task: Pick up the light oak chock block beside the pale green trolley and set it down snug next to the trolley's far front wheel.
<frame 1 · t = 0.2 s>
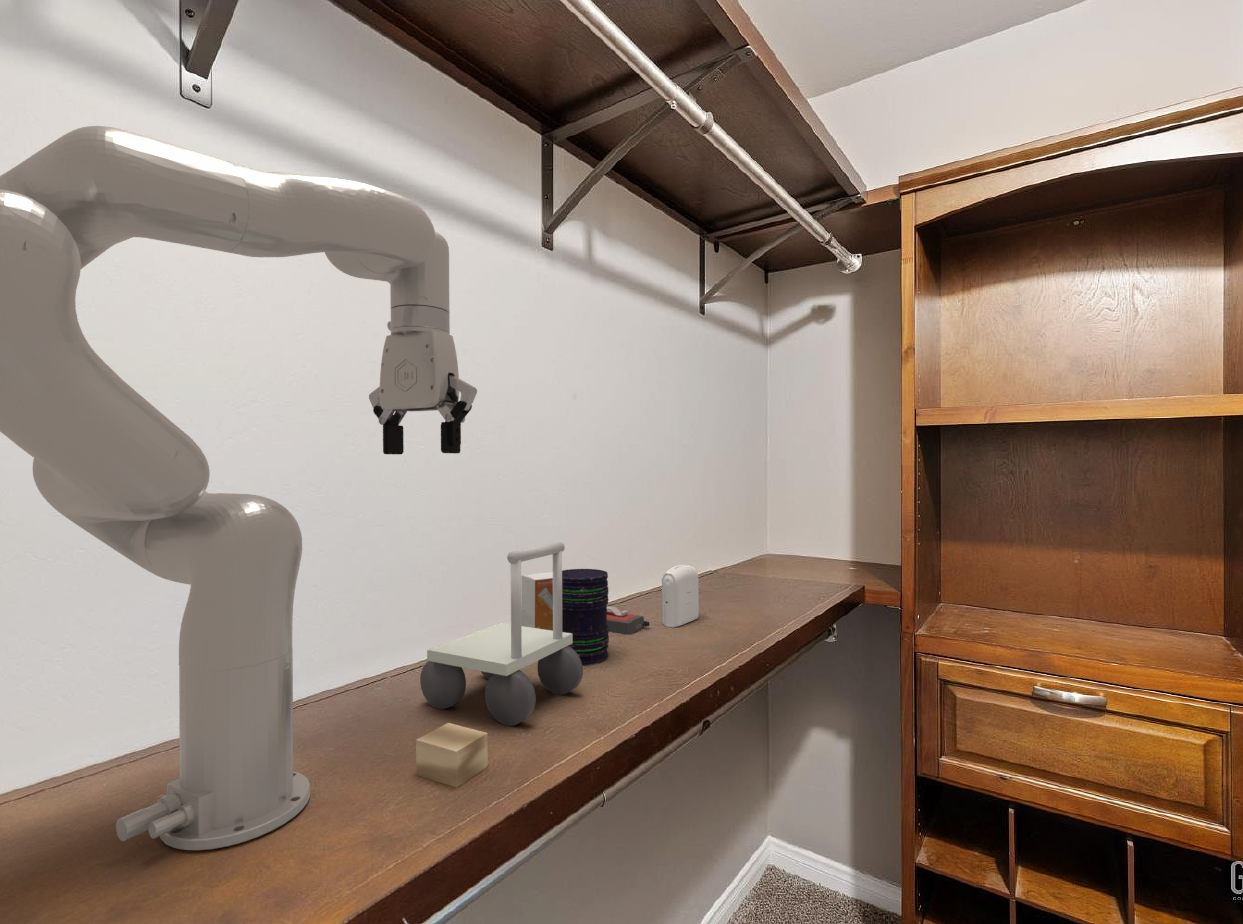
hand: (421, 453, 81), 36 cm above the closet shelf, tool pointing down, fingers open, 9 cm apart
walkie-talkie: (604, 627, 130), on the closet shelf
photo printer: (680, 623, 132), on the closet shelf
chock: (452, 771, 68), on the closet shelf
small box: (546, 642, 118), on the closet shelf
trolley: (503, 699, 89), on the closet shelf
dark blue cylinder: (581, 658, 108), on the closet shelf
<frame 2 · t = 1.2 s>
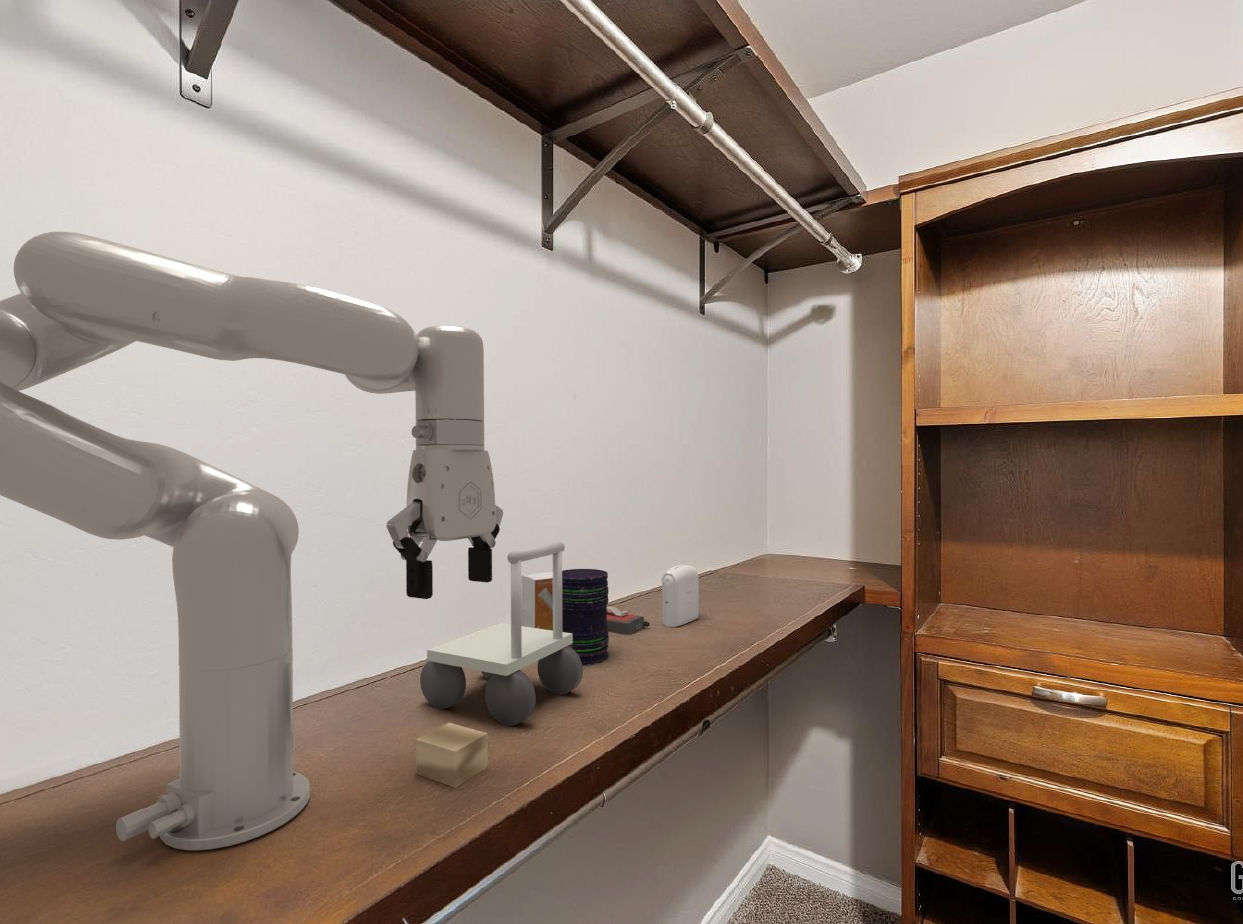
hand: (451, 588, 69), 20 cm above the closet shelf, tool pointing down, fingers open, 9 cm apart
nothing on the closet shelf moved.
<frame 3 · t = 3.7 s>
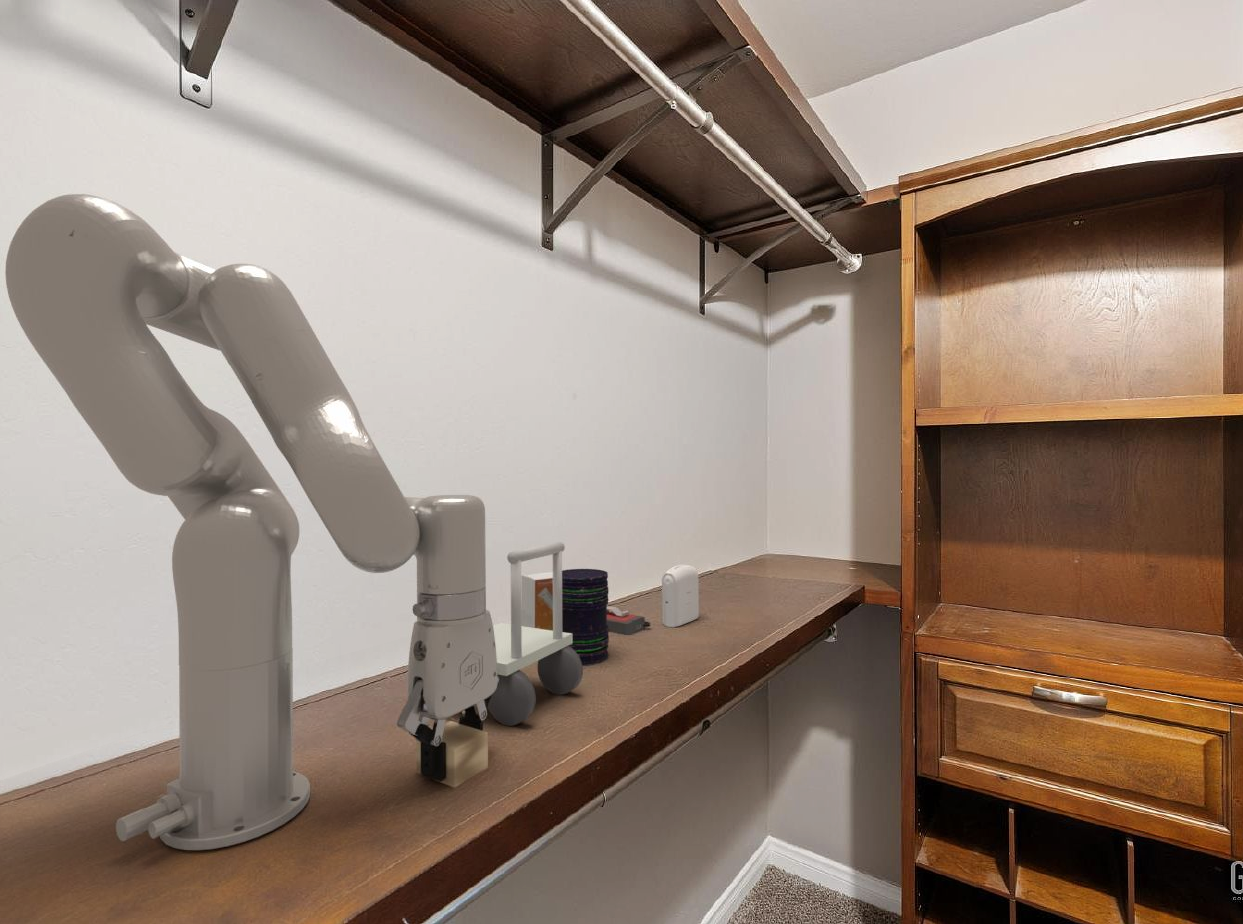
hand: (452, 763, 68), 1 cm above the closet shelf, tool pointing down, fingers closed on chock, 5 cm apart
chock: (452, 770, 68), on the closet shelf, touching gripper
everything else where it was.
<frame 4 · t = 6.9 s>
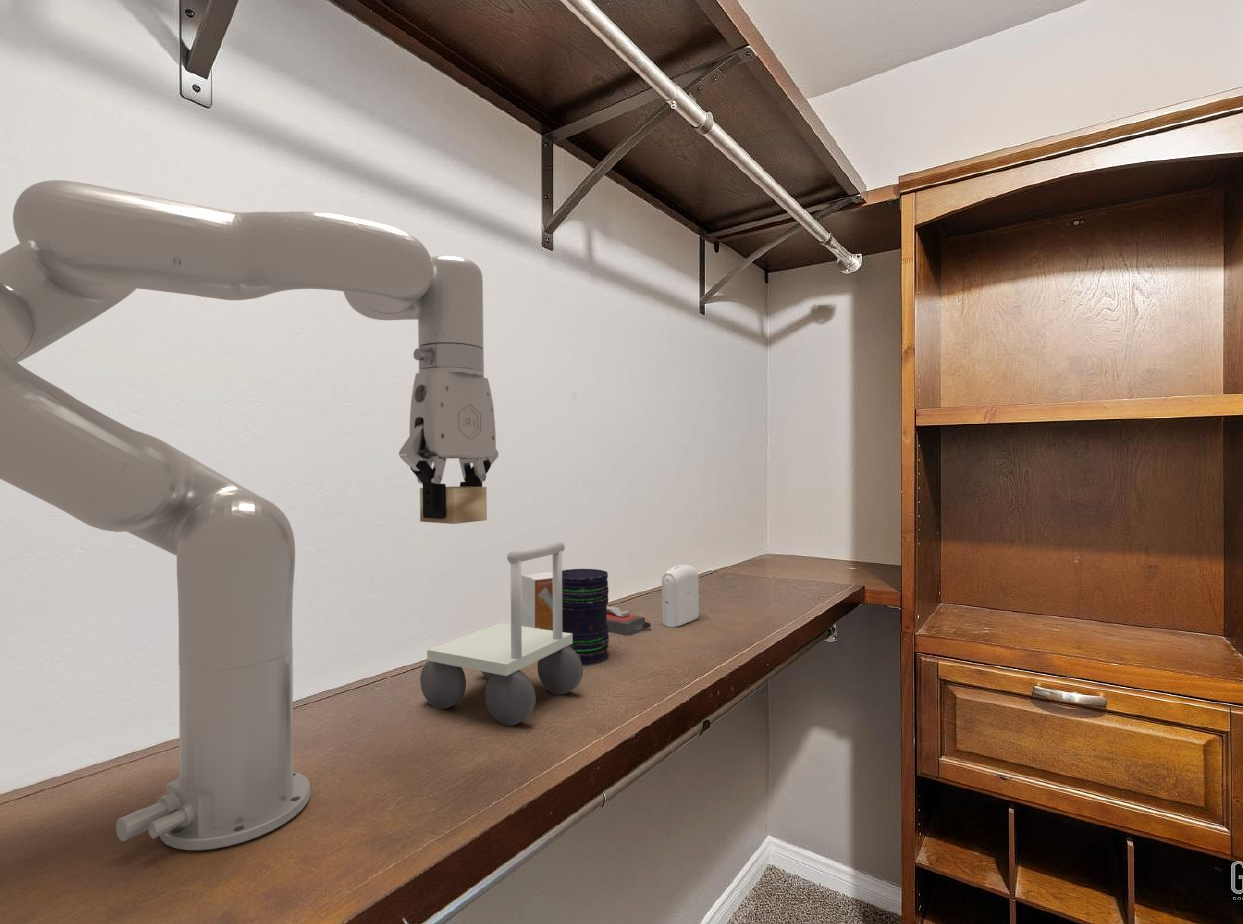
hand: (453, 514, 72), 29 cm above the closet shelf, tool pointing down, fingers closed on chock, 5 cm apart
chock: (453, 520, 72), point 28 cm above the closet shelf, touching gripper
everything else where it was.
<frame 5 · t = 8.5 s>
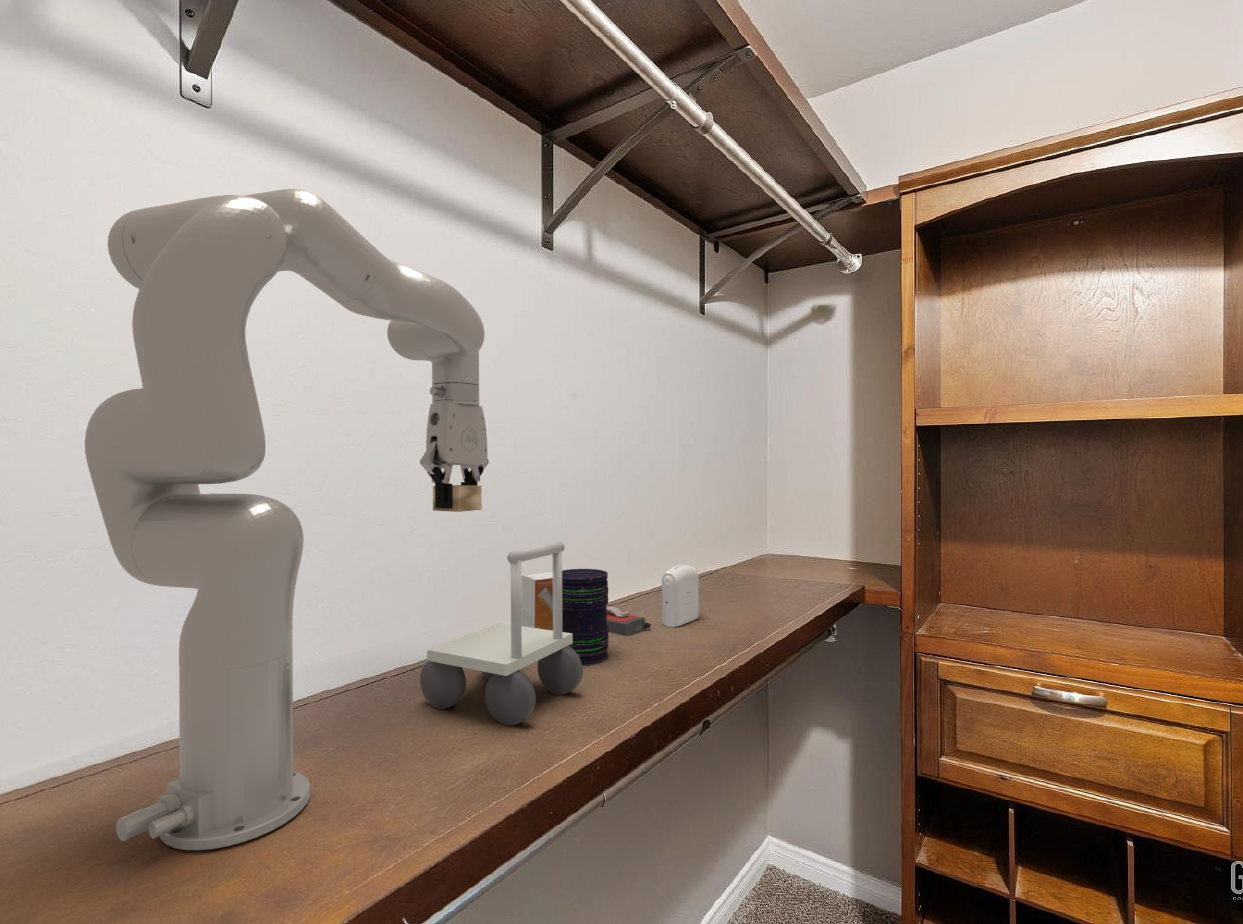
hand: (456, 505, 100), 28 cm above the closet shelf, tool pointing down, fingers closed on chock, 5 cm apart
chock: (457, 510, 100), point 27 cm above the closet shelf, touching gripper
everything else where it was.
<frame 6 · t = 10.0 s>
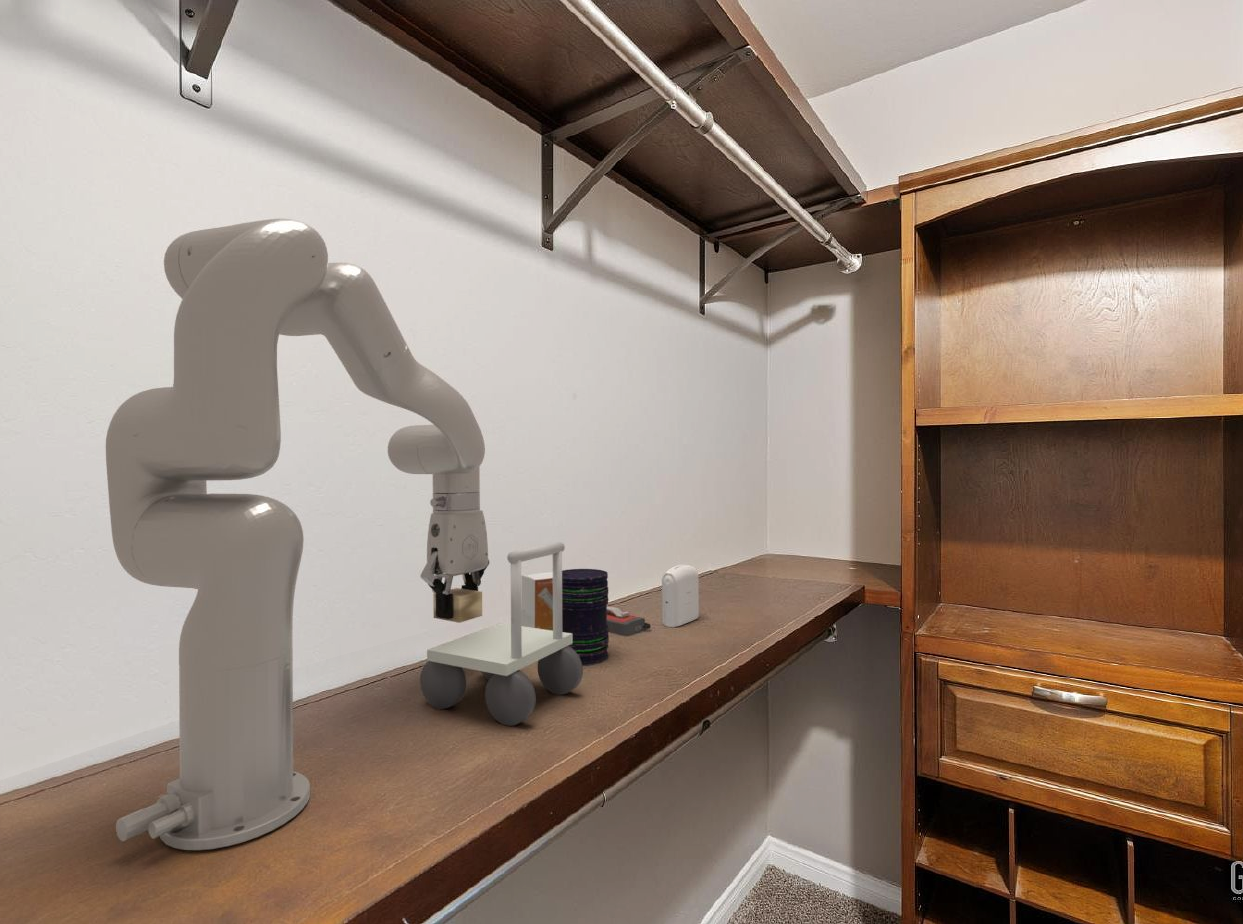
hand: (457, 612, 100), 10 cm above the closet shelf, tool pointing down, fingers closed on chock, 5 cm apart
chock: (458, 616, 100), point 9 cm above the closet shelf, touching gripper
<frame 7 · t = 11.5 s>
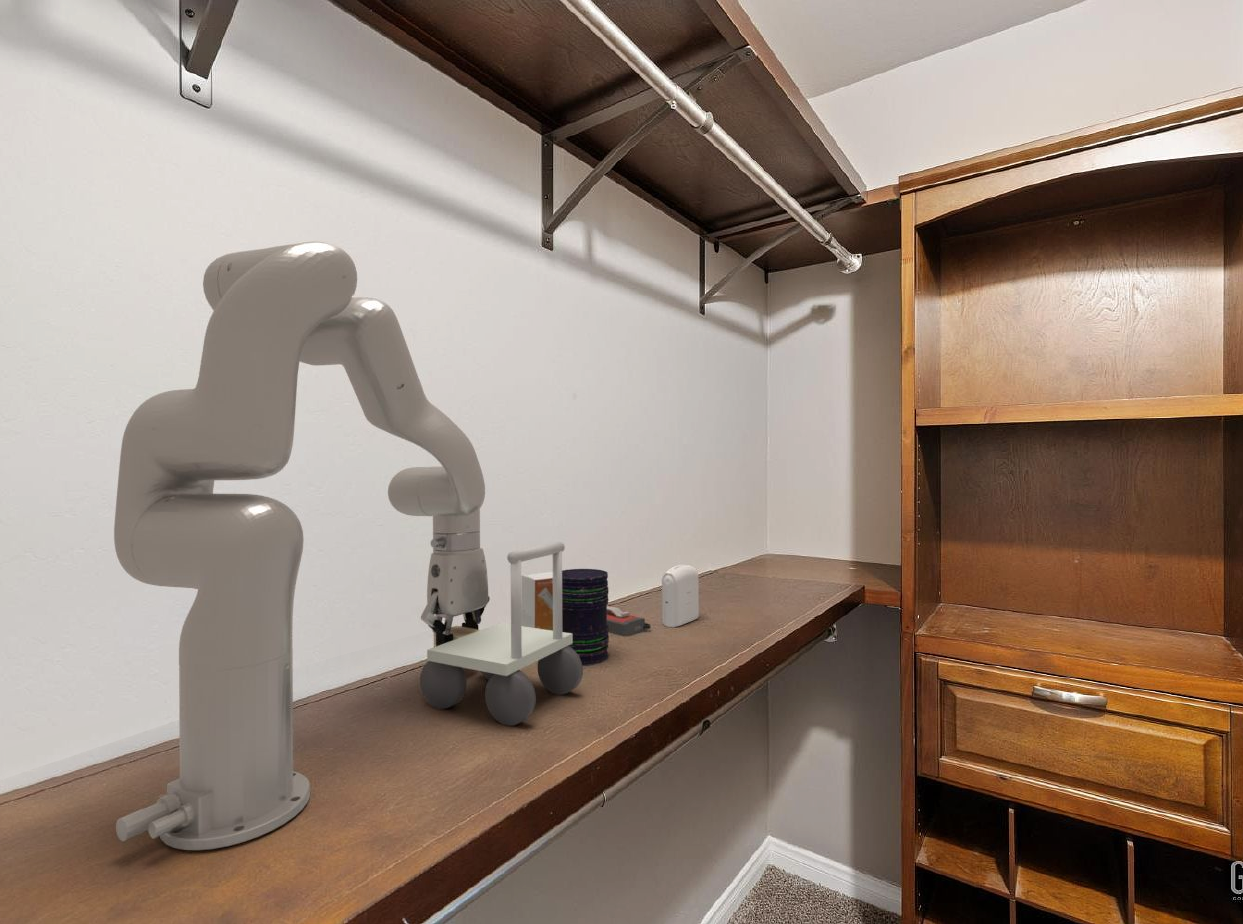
hand: (457, 651, 100), 4 cm above the closet shelf, tool pointing down, fingers closed on chock, 5 cm apart
chock: (458, 655, 100), point 3 cm above the closet shelf, touching gripper
when the fingers open (2 cm above the closet shelf, at t = 12.3 s): chock drops 1 cm, on the closet shelf.
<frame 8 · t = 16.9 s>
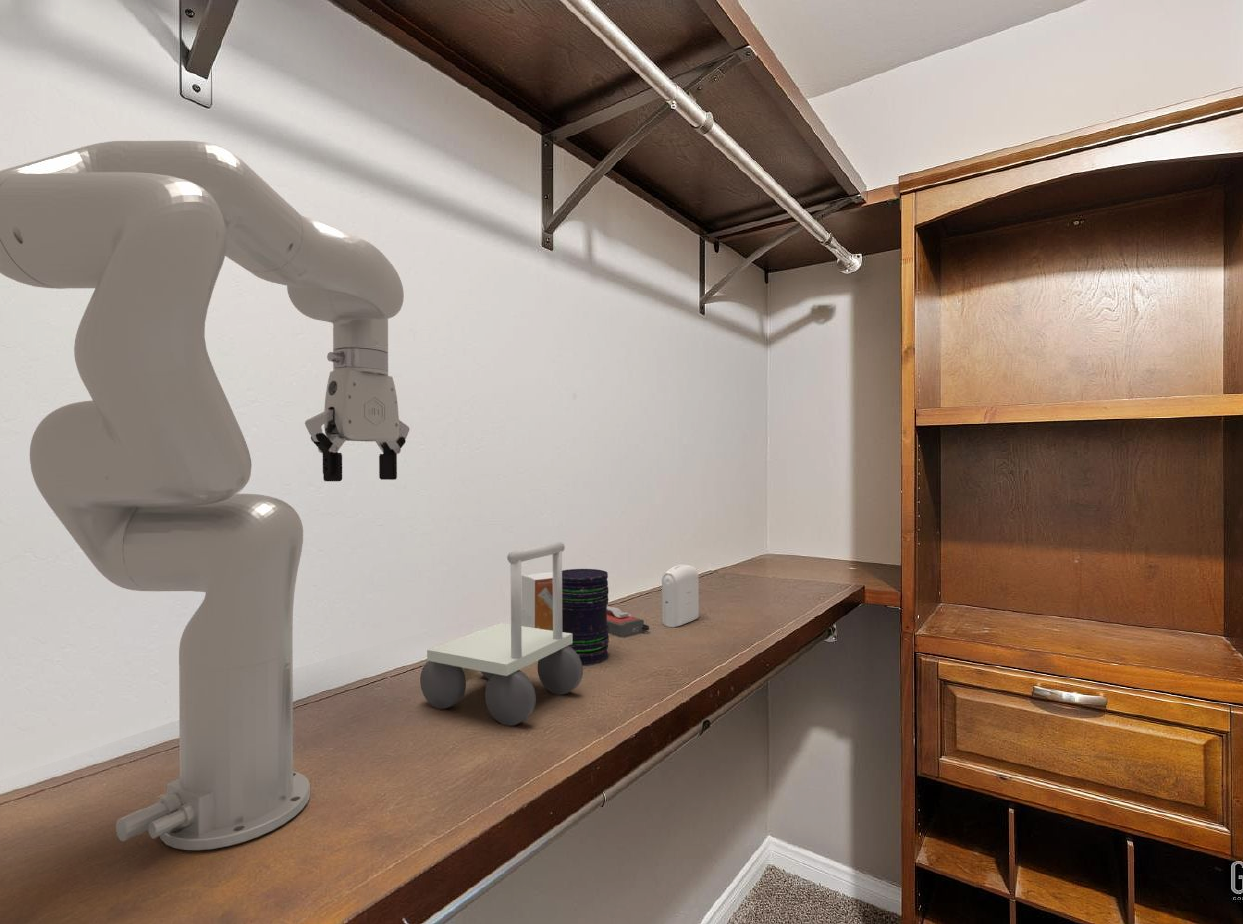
hand: (361, 480, 90), 32 cm above the closet shelf, tool pointing down, fingers open, 9 cm apart
chock: (457, 676, 99), on the closet shelf
at the end: chock 1.0 cm from the target spot on the closet shelf beside the trolley, on the closet shelf; chock tilted 0°; the gripper is holding nothing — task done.
